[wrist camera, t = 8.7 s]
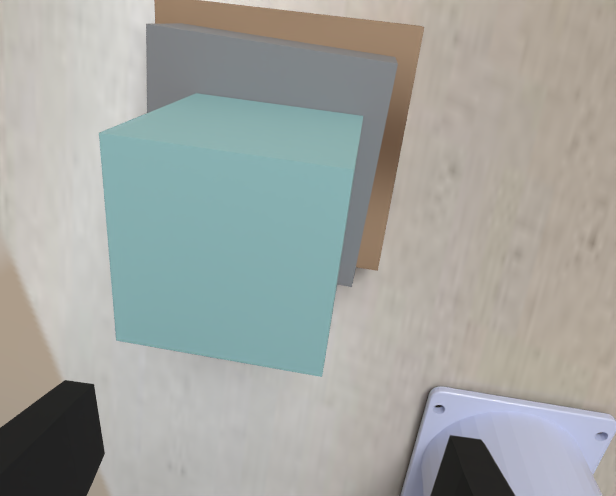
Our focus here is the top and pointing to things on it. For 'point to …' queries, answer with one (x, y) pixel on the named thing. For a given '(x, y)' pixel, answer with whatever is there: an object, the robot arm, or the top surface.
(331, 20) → the walnut block
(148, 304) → the teal block
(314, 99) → the gray block
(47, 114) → the top surface
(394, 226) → the top surface
